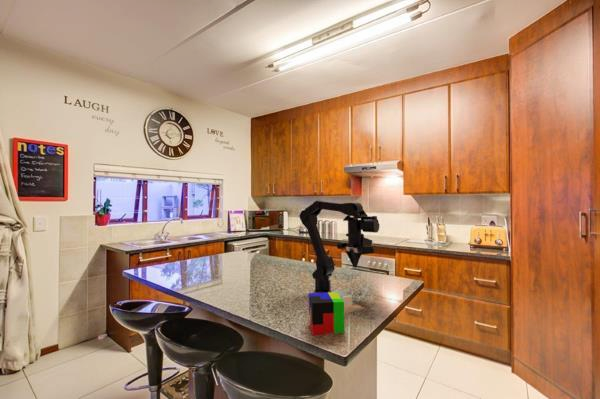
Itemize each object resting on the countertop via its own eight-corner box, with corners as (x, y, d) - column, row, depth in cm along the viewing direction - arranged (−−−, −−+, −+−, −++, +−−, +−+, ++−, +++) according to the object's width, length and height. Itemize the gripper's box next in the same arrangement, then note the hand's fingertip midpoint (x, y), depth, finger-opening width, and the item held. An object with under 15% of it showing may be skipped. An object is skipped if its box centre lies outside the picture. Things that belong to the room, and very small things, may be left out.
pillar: (343, 297, 110) (330, 291, 118) (343, 308, 110) (330, 301, 118) (351, 295, 112) (338, 290, 120) (352, 306, 112) (338, 299, 120)
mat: (365, 309, 109) (365, 308, 109) (344, 314, 105) (344, 313, 105) (343, 299, 122) (343, 298, 122) (323, 303, 117) (323, 302, 117)
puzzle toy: (309, 322, 98) (308, 293, 99) (337, 321, 99) (337, 292, 99) (312, 335, 88) (312, 303, 89) (344, 334, 89) (344, 301, 89)
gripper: (384, 232, 119) (384, 269, 119) (355, 228, 136) (356, 261, 136) (363, 233, 114) (363, 272, 114) (336, 230, 131) (336, 264, 131)
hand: (355, 267), depth 124 cm, fingers closed
